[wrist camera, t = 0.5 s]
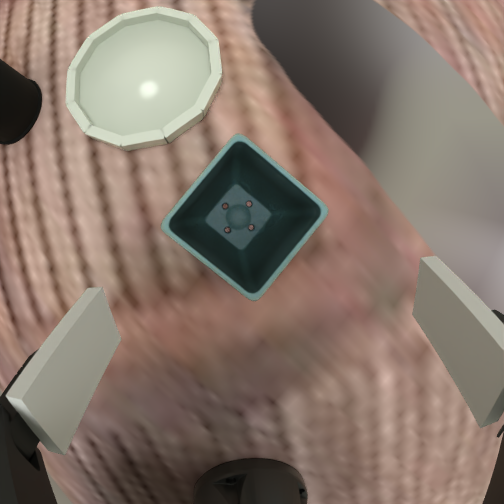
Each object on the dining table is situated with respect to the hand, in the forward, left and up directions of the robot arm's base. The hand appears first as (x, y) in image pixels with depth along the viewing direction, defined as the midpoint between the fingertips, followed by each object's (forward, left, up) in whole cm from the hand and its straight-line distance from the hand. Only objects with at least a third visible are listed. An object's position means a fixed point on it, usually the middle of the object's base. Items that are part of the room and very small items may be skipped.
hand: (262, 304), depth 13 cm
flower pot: (+3, +1, -19) cm, 20 cm away
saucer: (+13, +16, -19) cm, 28 cm away
